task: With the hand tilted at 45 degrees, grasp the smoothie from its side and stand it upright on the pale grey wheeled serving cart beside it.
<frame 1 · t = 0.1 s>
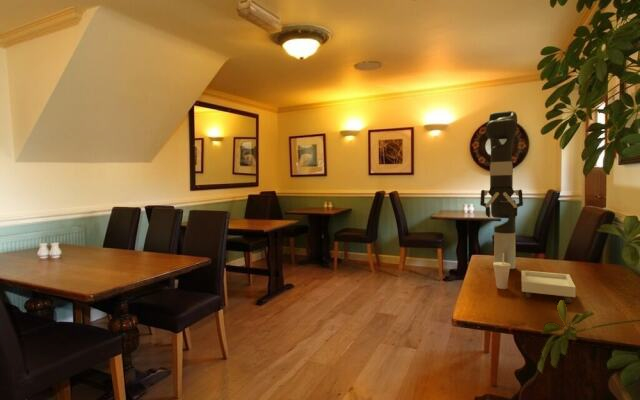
hand: (501, 217, 138), 29 cm above the table, tool pointing down, fingers open, 8 cm apart
cart: (546, 286, 137), point 3 cm above the table, slide at 0.0 cm
smoothie: (501, 288, 148), on the table
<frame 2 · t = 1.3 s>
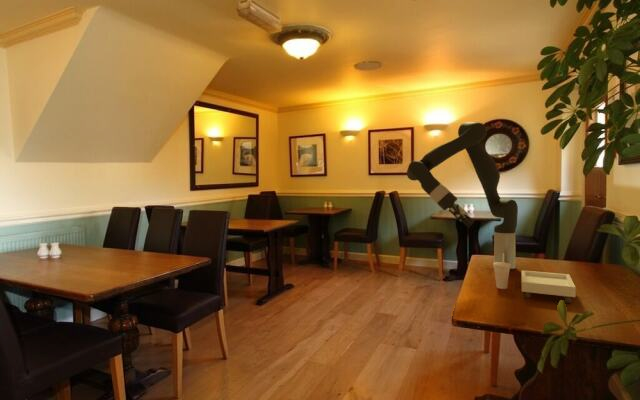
hand: (471, 224, 154), 25 cm above the table, tool tilted 45°, fingers open, 8 cm apart
nothing on the table moved.
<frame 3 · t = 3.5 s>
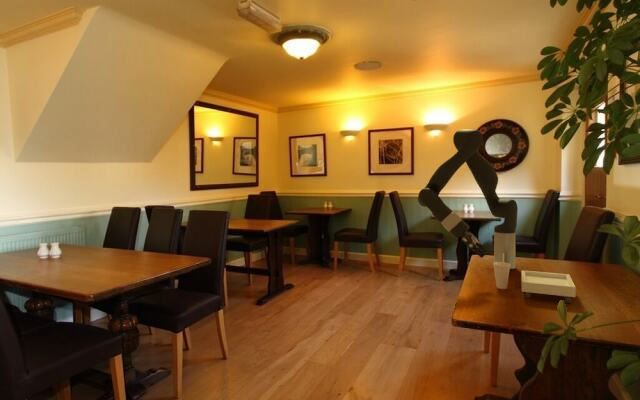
hand: (484, 254, 150), 13 cm above the table, tool tilted 45°, fingers open, 8 cm apart
nothing on the table moved.
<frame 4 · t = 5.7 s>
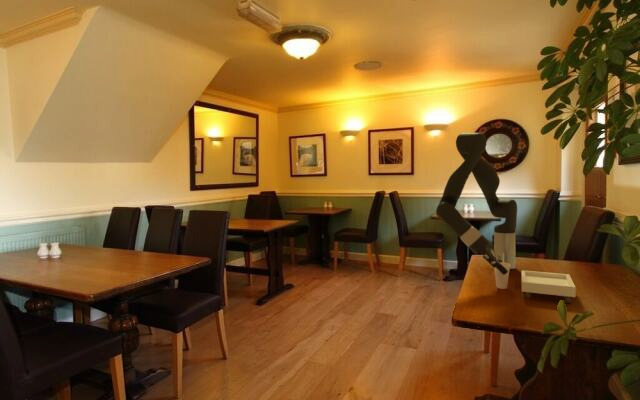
hand: (506, 271, 147), 7 cm above the table, tool tilted 45°, fingers closed on smoothie, 6 cm apart
smoothie: (501, 287, 148), on the table, touching gripper
everything else where it was.
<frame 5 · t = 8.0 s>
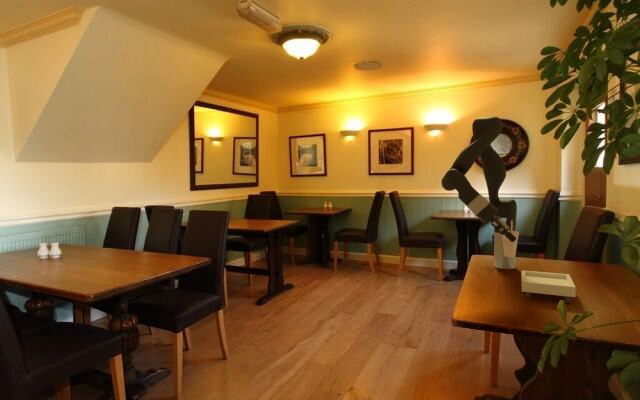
hand: (514, 239, 144), 20 cm above the table, tool tilted 45°, fingers closed on smoothie, 6 cm apart
smoothie: (509, 256, 145), point 13 cm above the table, touching gripper
everything else where it was.
when the fingers open (13 cm above the table, at t = 10.6 s): smoothie drops 1 cm, resting on cart.
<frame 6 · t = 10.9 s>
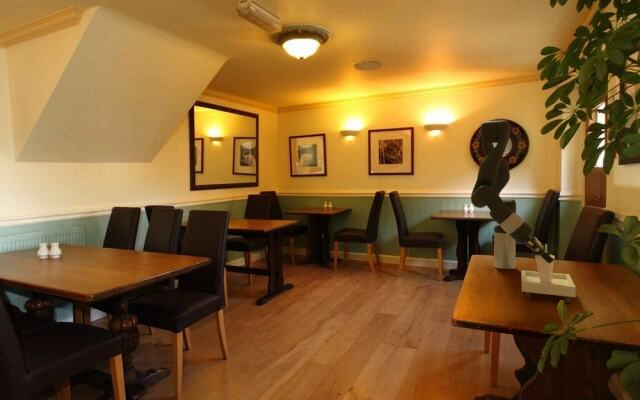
hand: (550, 259, 136), 14 cm above the table, tool tilted 45°, fingers open, 8 cm apart
cart: (546, 286, 137), point 3 cm above the table, slide at 0.0 cm, touching smoothie
smoothie: (545, 282, 137), point 5 cm above the table, touching cart
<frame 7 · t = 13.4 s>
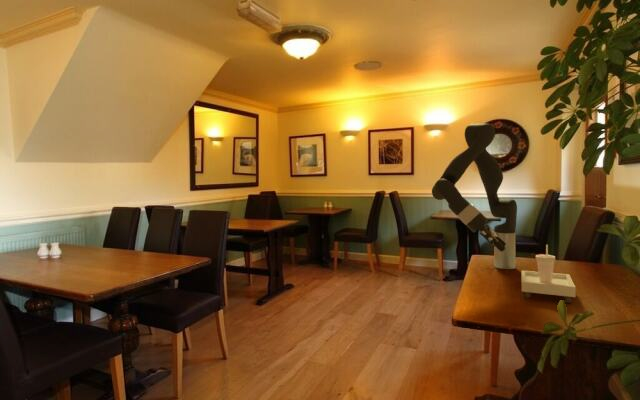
hand: (504, 248, 144), 17 cm above the table, tool tilted 45°, fingers open, 8 cm apart
nothing on the table moved.
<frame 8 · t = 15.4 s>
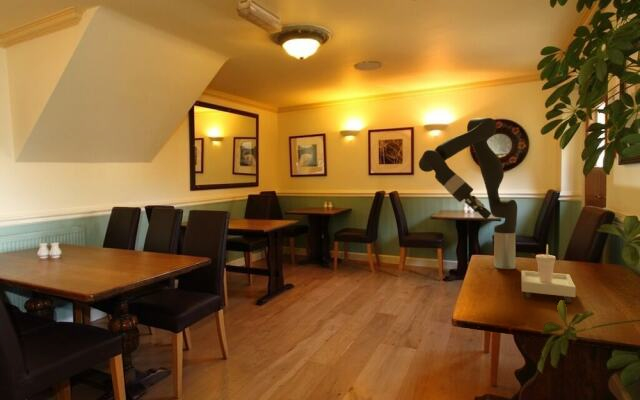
hand: (488, 216, 147), 29 cm above the table, tool tilted 45°, fingers open, 8 cm apart
nothing on the table moved.
at the end: smoothie inside the target area on the cart (0.2 cm from its centre), point 4.8 cm above the cart's base; smoothie tilted 1°; the gripper is holding nothing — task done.
